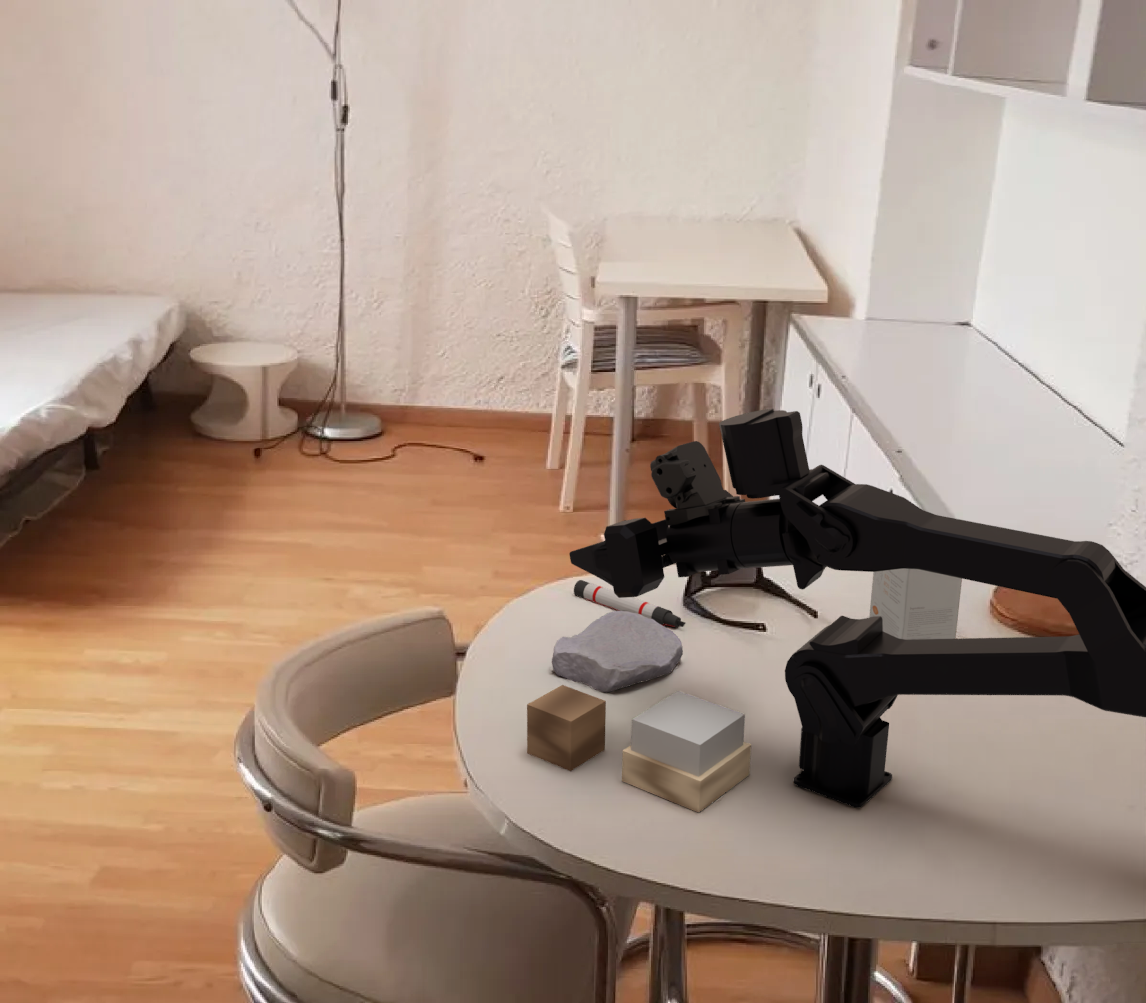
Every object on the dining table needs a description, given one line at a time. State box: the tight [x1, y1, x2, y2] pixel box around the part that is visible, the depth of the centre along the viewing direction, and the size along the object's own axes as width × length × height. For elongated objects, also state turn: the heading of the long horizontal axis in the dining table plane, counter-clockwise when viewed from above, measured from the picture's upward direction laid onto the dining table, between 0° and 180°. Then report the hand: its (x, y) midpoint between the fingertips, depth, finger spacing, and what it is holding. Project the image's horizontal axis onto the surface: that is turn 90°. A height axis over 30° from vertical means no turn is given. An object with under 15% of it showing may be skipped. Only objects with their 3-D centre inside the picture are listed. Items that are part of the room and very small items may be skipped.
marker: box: [573, 579, 686, 629], centre depth 155 cm, size 15×2×2 cm, turn 48°
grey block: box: [630, 690, 746, 777], centre depth 120 cm, size 7×7×3 cm
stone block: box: [551, 610, 684, 693], centre depth 142 cm, size 12×5×10 cm
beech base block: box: [621, 741, 752, 813], centre depth 121 cm, size 8×8×3 cm
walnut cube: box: [526, 684, 607, 772], centre depth 125 cm, size 5×5×5 cm
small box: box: [868, 569, 963, 640], centre depth 146 cm, size 8×6×13 cm
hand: (599, 547), depth 129 cm, fingers open, 9 cm apart
